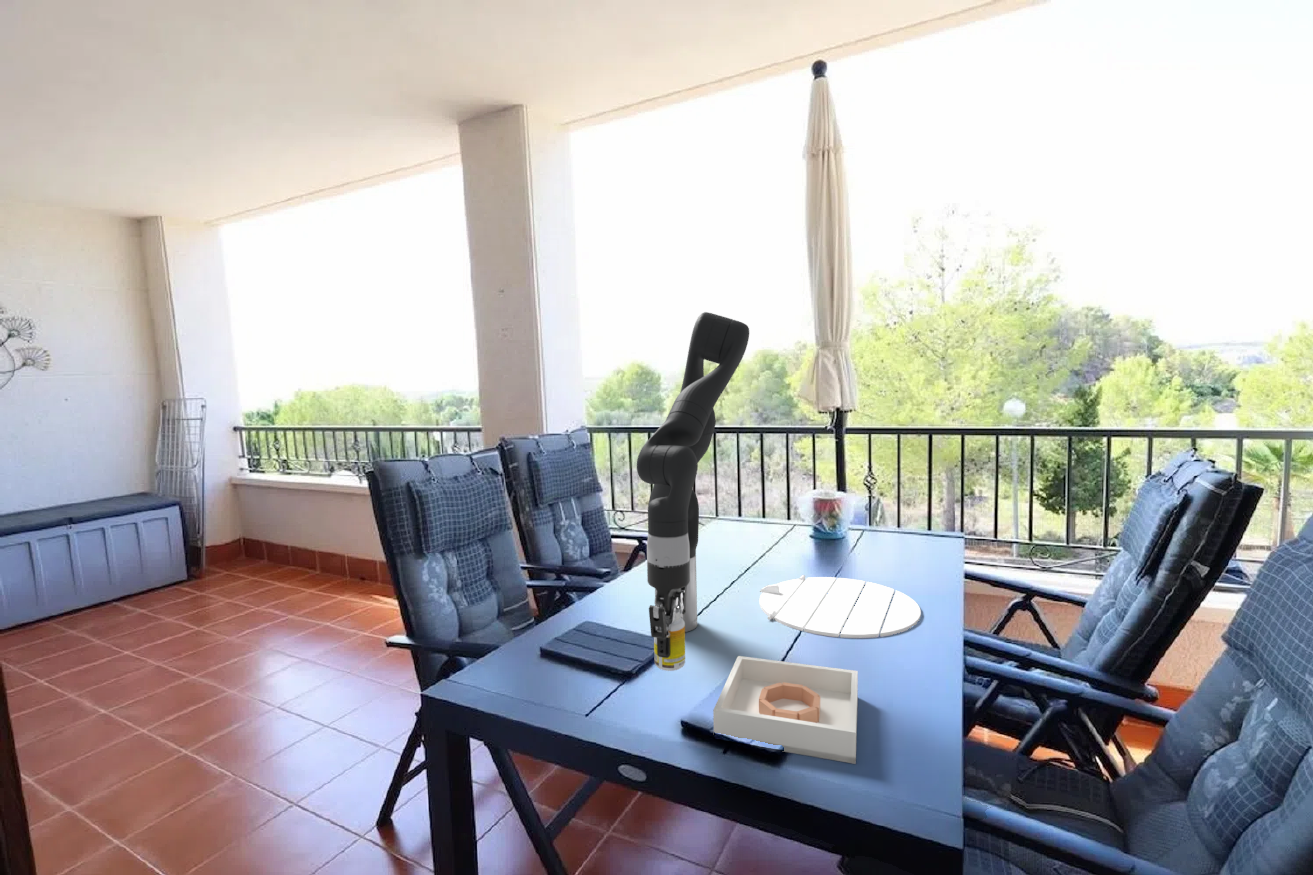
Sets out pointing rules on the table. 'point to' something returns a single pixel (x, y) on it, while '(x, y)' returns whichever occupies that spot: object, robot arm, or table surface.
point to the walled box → (791, 707)
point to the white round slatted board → (839, 607)
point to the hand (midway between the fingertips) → (669, 648)
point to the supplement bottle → (673, 646)
